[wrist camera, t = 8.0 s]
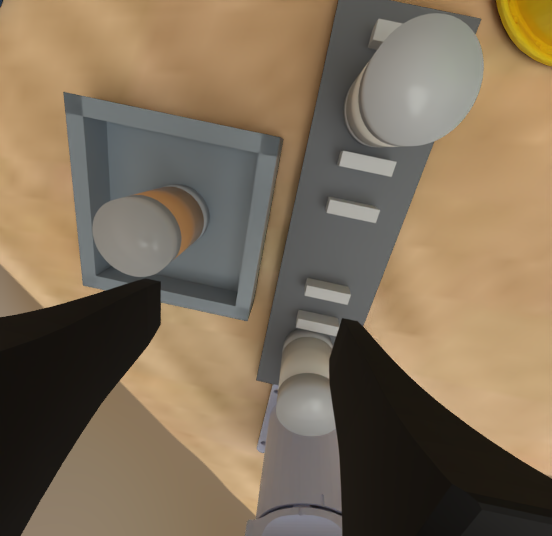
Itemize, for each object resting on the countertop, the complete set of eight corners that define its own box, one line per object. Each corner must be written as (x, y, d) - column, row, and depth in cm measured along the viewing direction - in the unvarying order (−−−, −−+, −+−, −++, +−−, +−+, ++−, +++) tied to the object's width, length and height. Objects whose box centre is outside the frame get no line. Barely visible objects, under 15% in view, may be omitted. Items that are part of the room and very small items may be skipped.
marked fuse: (206, 247, 20) (169, 284, 14) (152, 235, 20) (95, 267, 15) (212, 191, 18) (173, 208, 13) (153, 178, 18) (89, 190, 13)
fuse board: (334, 390, 25) (337, 409, 23) (257, 373, 25) (253, 391, 23) (472, 25, 14) (497, 7, 12) (338, -2, 14) (343, -24, 13)
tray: (253, 303, 22) (247, 321, 20) (105, 271, 22) (83, 285, 20) (283, 139, 17) (280, 137, 15) (95, 99, 17) (63, 91, 15)
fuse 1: (326, 372, 23) (332, 442, 18) (278, 361, 23) (270, 428, 18) (339, 333, 21) (351, 396, 16) (288, 322, 21) (283, 381, 16)
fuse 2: (402, 153, 16) (453, 155, 11) (334, 140, 16) (350, 135, 11) (430, 72, 15) (506, 25, 9) (354, 57, 15) (385, 2, 9)
